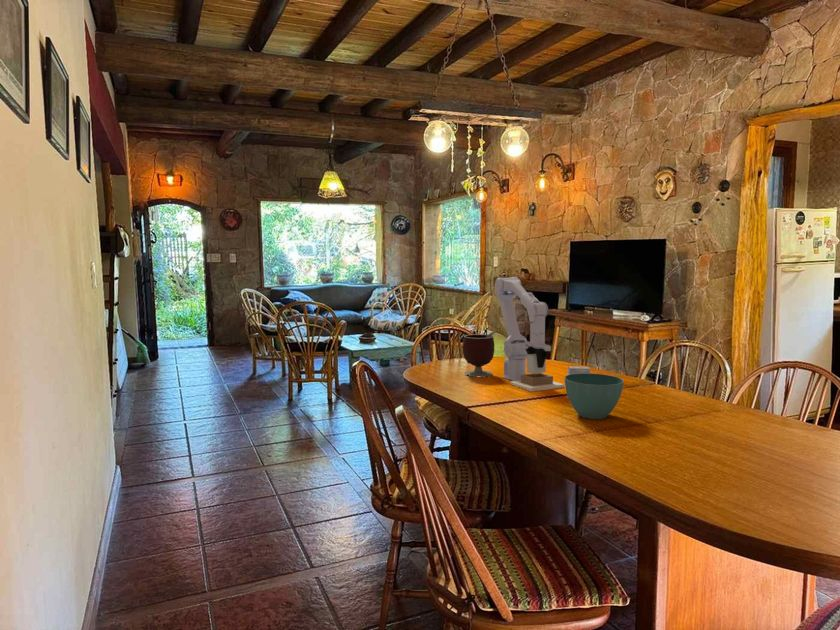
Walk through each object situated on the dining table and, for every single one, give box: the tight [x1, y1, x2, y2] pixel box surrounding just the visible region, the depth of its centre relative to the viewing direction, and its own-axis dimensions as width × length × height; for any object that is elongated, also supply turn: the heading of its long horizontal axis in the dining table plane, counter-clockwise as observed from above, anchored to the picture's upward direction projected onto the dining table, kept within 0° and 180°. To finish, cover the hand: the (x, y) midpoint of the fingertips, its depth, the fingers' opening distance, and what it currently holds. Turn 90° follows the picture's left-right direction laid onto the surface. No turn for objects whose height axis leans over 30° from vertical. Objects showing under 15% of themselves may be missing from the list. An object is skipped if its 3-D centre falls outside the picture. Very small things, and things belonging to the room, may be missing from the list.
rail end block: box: [526, 354, 547, 374], centre depth 228 cm, size 4×6×7 cm, turn 116°
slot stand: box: [509, 372, 565, 392], centre depth 229 cm, size 14×16×4 cm
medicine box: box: [567, 366, 591, 375], centre depth 223 cm, size 8×4×9 cm, turn 84°
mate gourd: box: [462, 330, 499, 378], centre depth 252 cm, size 16×14×20 cm
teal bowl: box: [564, 372, 625, 420], centre depth 184 cm, size 18×18×12 cm
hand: (537, 366), depth 228 cm, fingers closed on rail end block, 4 cm apart
